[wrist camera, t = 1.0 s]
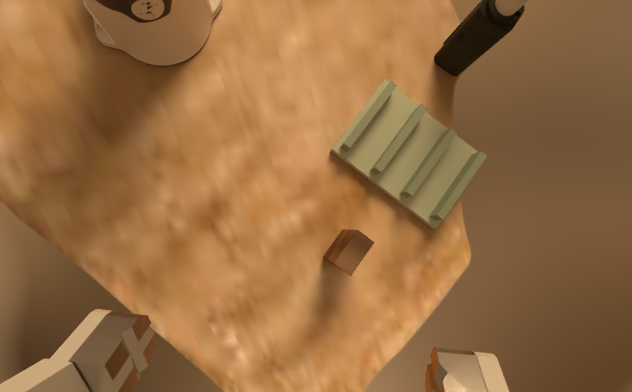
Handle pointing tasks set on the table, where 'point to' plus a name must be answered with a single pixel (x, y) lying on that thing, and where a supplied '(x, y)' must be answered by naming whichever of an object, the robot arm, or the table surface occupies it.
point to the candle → (478, 33)
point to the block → (348, 250)
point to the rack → (409, 154)
